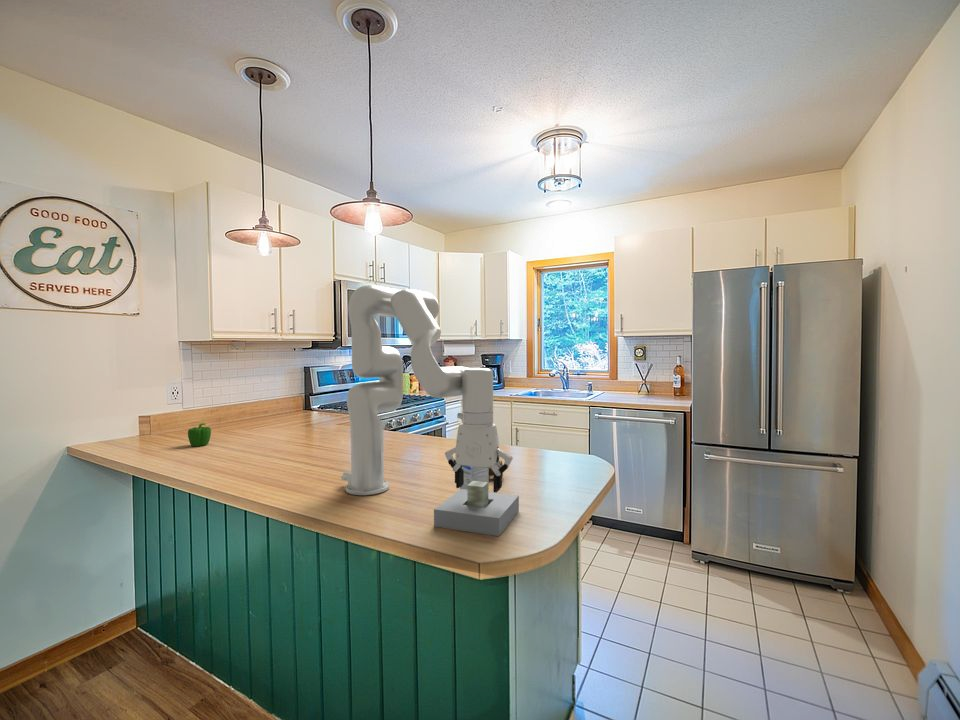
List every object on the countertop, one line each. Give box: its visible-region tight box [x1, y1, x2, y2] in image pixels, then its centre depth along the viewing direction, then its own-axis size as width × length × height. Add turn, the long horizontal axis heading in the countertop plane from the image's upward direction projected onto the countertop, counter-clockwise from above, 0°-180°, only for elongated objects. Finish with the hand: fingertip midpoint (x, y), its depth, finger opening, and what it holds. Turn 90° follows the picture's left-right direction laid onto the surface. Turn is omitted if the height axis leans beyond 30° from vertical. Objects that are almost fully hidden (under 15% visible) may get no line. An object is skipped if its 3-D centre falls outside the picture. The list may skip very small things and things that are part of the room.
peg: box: [467, 481, 489, 508], centre depth 106 cm, size 4×4×8 cm
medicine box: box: [459, 466, 490, 491], centre depth 126 cm, size 8×4×9 cm, turn 141°
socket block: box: [433, 488, 520, 537], centre depth 106 cm, size 16×16×4 cm
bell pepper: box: [187, 422, 212, 447], centre depth 191 cm, size 8×8×10 cm
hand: (478, 488), depth 106 cm, fingers open, 9 cm apart
